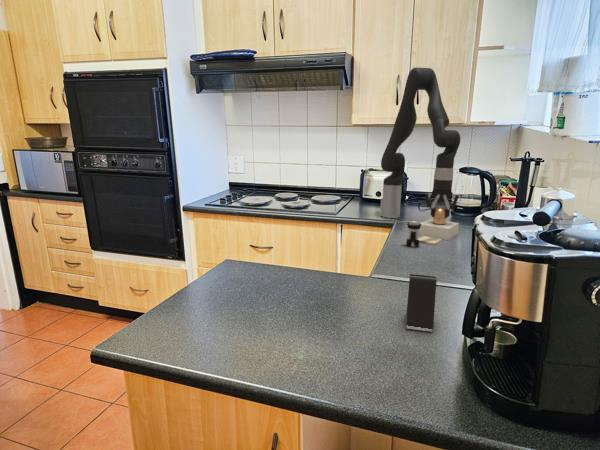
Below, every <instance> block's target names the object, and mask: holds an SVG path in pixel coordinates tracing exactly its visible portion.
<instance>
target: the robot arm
mask: <svg viewBox="0 0 600 450" xmlns="http://www.w3.org/2000/svg"><path fill="white" fill-rule="evenodd" d="M406 77H407V78H406V82H405V86H404V90H403V96H402V99H401V103H400V106H399V110H398V112H397V115H396V118H395V122H394V123H393V124H394V125H393V128H392V132H391V134H390V137H389V140H388V143H387V145H386V147H385V149H384V152H383V154H382V157H381V161H380V167H381V169H382V170H383V171H384V172H391V174H390V175H388V176H387V177H385V178H383V186H382V187H383V188H382V198H380V211H379V216H380V217H381V216H383V217H382V218H384V217H387V218H386V219H390V218H395V219H398V218H397V217H399V218H400V215H401V198H402V184H403V180H404V176H405V167H406V159H405V155H404V154H403V153H401V152H397V151H398V149H399V148H400V146H401V145H402V144H403V143H405V141H406V140H407V139H409V137H411V135H412V133H413V132H414V129H415V126H416V123H417V119H418V118H417V111H416V108H415V98H416V95H417V92H418V91H425V92H426V94H427V96H428V104H427V109H426V110H427V112H426V113H427V117H428V120H429V121H430V124H431V126H432V137H433V142H434V144H435V146H437V147H438V148H444V150H443V152H440V153H439V154H437V155H436V158H435V159H436V162H435V169H434V175H433V183H432V184H433V185H432V186H433V187H432V190H431V192H425V194H424V196H425V202H426V207H427V208H429V209H430V216H431V218H434V208H435V207H436V204H437V203H440V202H441V203H444V204H445V208H447V210H446V219H448V217H450V214H451V213H450V212H451V210H453V209H455V208H456V205H457V202H458V200H459V197H460V196H459V194H455V193H453V181H454V180H453V179H454V165H455V158H456V156H457V155H456V154H457V153H458V152H457V151H458V150H459V147H460V144H461V134H460V132H459V131H457V130H456V129H455V130H454V129H452V130H449V129H447V130H446V128H447V127H448V126H449V125H450V119H449V116H448V114H447V112H446V111H447V110H445V107H444V104H443V101H442V96H441V92H440V87H439V84H438V78H437V74H436V73H435V71H434V69H433V68H430V67H413V68H411V70H410V71H409V73H408V75H407V76H406ZM431 197H433V199H434V200H433V201H432V203H431V202H430V198H431ZM450 198H452V200H453V201H452V203H451V205H450V202H449V200H450Z"/></svg>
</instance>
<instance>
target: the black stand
mask: <svg viewBox="0 0 600 450" xmlns="http://www.w3.org/2000/svg"><path fill="white" fill-rule="evenodd" d="M406 225H407V229H408V237H407V238H406V241H404V243H401V245H405V246H406V247H412V248H419V247H420V242H419V240H418V238H419V235H418V229H420V226H421V224H420V221H418V220H409V222H408V223H406Z"/></svg>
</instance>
